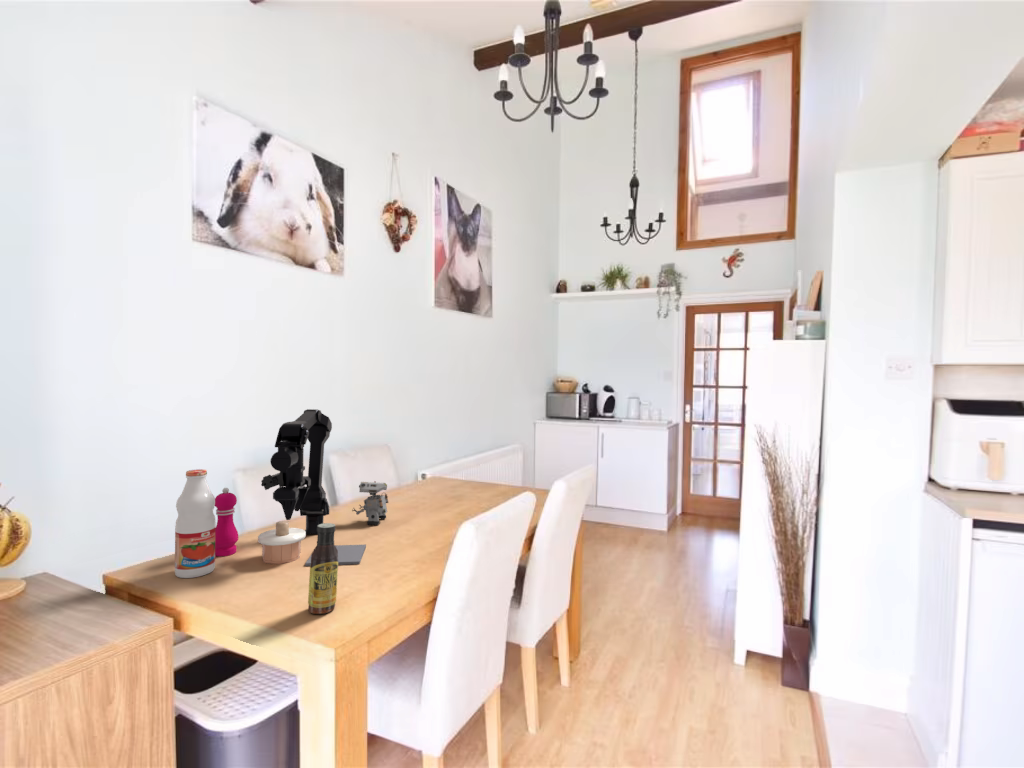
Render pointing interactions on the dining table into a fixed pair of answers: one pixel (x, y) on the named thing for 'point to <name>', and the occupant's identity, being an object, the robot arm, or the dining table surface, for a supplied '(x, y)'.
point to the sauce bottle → (323, 572)
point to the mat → (347, 554)
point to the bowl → (281, 553)
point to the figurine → (374, 502)
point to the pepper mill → (225, 524)
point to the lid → (281, 535)
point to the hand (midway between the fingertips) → (292, 515)
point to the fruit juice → (195, 527)
